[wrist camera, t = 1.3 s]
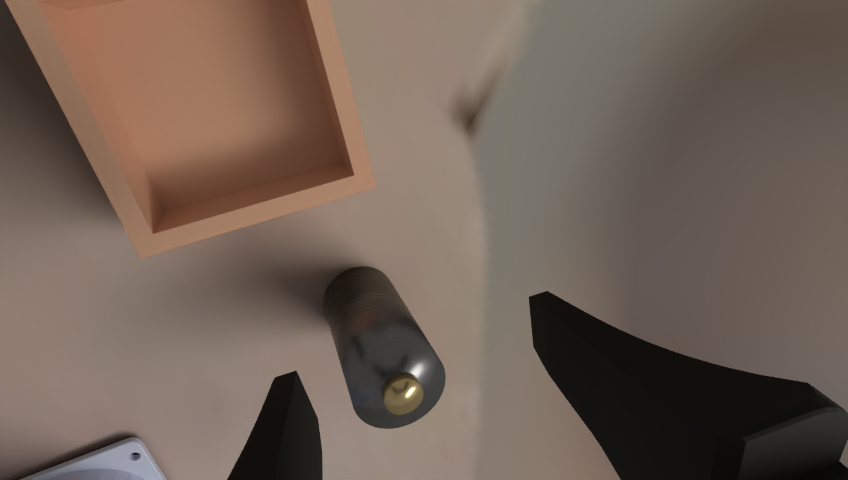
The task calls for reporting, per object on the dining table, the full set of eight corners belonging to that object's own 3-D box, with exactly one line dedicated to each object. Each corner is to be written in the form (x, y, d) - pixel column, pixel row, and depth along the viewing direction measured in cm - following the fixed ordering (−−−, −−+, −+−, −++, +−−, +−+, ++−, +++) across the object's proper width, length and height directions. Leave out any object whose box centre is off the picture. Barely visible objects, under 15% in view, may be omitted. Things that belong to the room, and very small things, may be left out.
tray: (359, 170, 23) (376, 187, 20) (156, 229, 21) (140, 258, 18) (300, -53, 19) (309, -74, 16) (39, -8, 17) (-8, -23, 14)
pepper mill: (400, 316, 27) (458, 414, 20) (335, 340, 26) (369, 453, 19) (385, 257, 26) (441, 340, 18) (314, 281, 25) (342, 379, 17)
